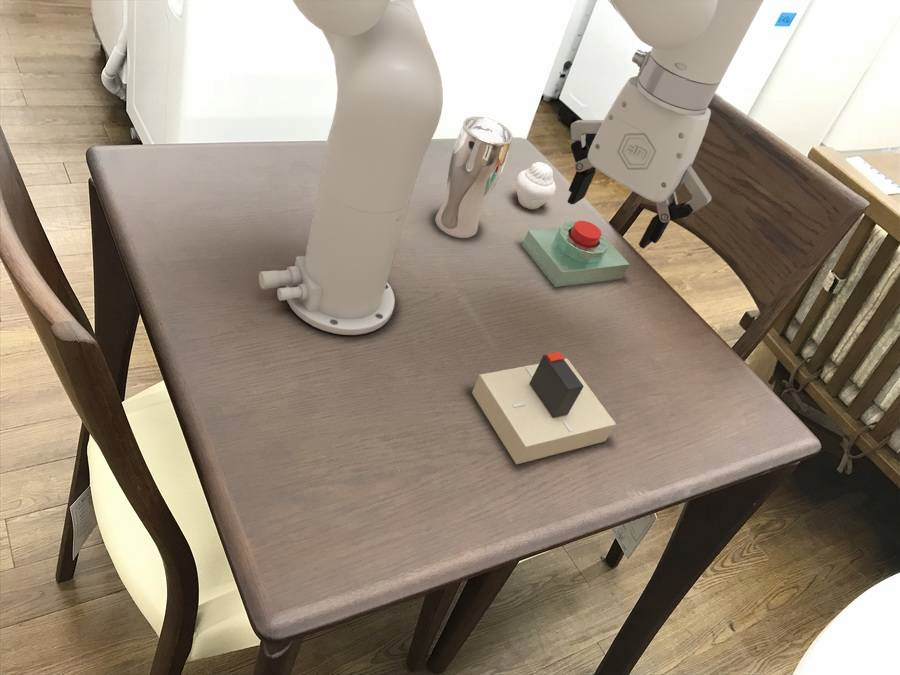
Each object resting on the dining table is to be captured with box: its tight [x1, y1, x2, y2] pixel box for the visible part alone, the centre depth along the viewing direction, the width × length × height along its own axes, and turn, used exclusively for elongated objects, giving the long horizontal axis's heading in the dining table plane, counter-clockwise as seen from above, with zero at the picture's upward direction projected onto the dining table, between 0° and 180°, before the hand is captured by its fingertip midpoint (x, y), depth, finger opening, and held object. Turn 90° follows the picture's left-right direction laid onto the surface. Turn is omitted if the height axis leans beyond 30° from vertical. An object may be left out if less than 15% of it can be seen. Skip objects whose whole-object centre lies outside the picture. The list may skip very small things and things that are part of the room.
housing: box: [521, 221, 630, 288], centre depth 107 cm, size 12×9×4 cm
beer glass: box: [434, 116, 513, 239], centre depth 102 cm, size 7×7×15 cm
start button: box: [570, 220, 602, 248], centre depth 105 cm, size 4×4×2 cm
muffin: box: [515, 161, 557, 210], centre depth 114 cm, size 6×6×7 cm
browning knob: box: [530, 351, 584, 418], centre depth 80 cm, size 5×2×5 cm, turn 27°
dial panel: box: [471, 358, 617, 465], centre depth 83 cm, size 12×10×3 cm
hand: (609, 221), depth 88 cm, fingers open, 9 cm apart
